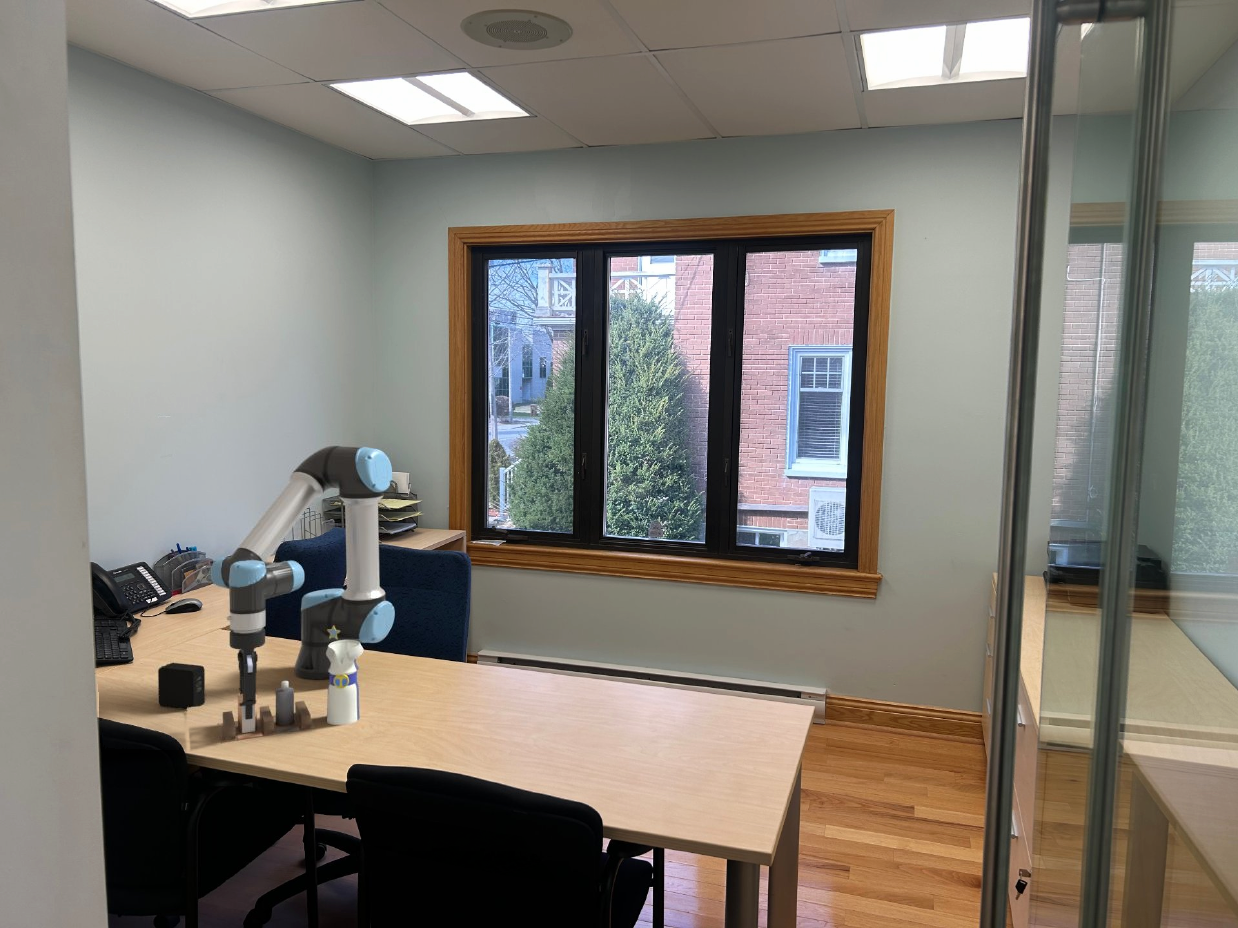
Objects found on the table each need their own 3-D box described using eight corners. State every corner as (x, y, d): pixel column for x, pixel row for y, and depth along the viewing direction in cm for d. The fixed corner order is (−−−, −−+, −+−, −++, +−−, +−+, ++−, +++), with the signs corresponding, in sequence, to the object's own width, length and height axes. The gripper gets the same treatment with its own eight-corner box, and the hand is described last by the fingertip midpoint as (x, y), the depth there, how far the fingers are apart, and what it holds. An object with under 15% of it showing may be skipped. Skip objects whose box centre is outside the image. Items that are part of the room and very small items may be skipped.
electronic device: (193, 710, 205) (193, 671, 204) (158, 706, 207) (157, 667, 206) (205, 704, 209) (204, 665, 209) (170, 700, 211) (170, 662, 210)
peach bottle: (236, 727, 193) (236, 685, 192) (255, 724, 195) (254, 683, 194) (239, 733, 190) (239, 691, 189) (258, 730, 192) (258, 688, 191)
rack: (307, 714, 205) (307, 698, 204) (315, 732, 194) (315, 715, 194) (217, 727, 195) (217, 711, 195) (221, 747, 185) (221, 729, 184)
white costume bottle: (360, 728, 197) (360, 625, 195) (322, 730, 196) (322, 626, 194) (364, 715, 205) (365, 616, 203) (328, 716, 204) (329, 616, 202)
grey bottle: (292, 718, 199) (292, 678, 199) (295, 724, 196) (295, 683, 195) (274, 721, 197) (274, 680, 197) (276, 727, 194) (276, 685, 193)
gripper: (226, 621, 196) (226, 717, 198) (232, 640, 182) (232, 744, 183) (261, 618, 200) (261, 713, 202) (269, 636, 185) (269, 738, 187)
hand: (247, 727), depth 192 cm, fingers closed on peach bottle, 4 cm apart
